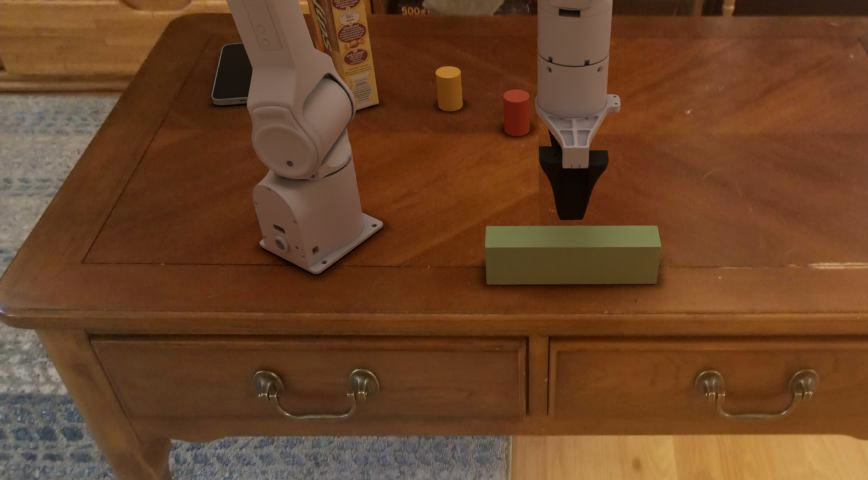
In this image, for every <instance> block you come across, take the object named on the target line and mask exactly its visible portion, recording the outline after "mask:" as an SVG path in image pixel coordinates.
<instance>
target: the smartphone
mask: <svg viewBox="0 0 868 480" xmlns="http://www.w3.org/2000/svg"><path fill="white" fill-rule="evenodd" d="M252 71H253V68H252V65H251V62H250V60H249V57H248V55H247V52H246V50H245V47H244V45H243V42H235V43H226V44H225V45H223V46H222V47H221V50H220V55H219V60H218V64H217V68H216V73H215V78H214V83H213V86H212V91H211V100H212V103H213V105H216V106H228V105H229V106H230V105H240V104H241V105H242V104H243V105H244V104H247V100H248V95H249V89H250V84H251V78H252Z"/></svg>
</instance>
